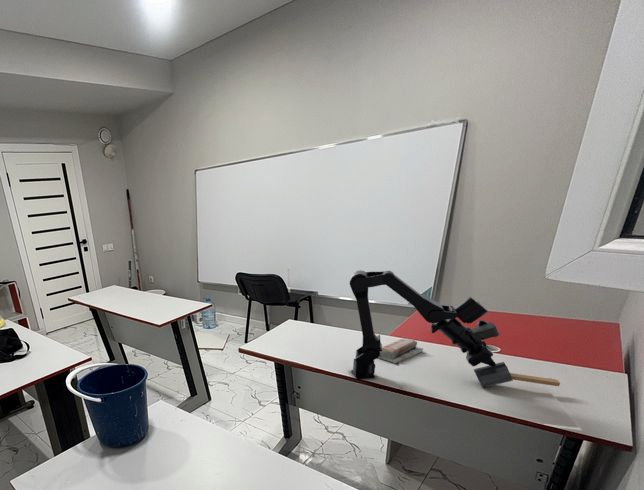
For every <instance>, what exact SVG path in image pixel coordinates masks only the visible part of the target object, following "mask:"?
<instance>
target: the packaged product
mask: <svg viewBox="0 0 644 490" xmlns="http://www.w3.org/2000/svg"><path fill="white" fill-rule="evenodd" d="M423 350H424V347H421V346H418V341H417V340H415V339H411V338H401V339H398V340H396V341H393V342H391V343H388V344H385V345H384V346H383V345H382V352H381V351H380V356H379V357H378V358H379V359H381V360H384V361H388V362H389V363H394V364H397V363H399V362H401V361H403V360H406V359H408V358H410V357H413V356H416V355H417V354H420V353H422V352H423ZM378 358H377V359H378Z"/></svg>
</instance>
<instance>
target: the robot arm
mask: <svg viewBox="0 0 644 490" xmlns="http://www.w3.org/2000/svg"><path fill="white" fill-rule="evenodd" d="M349 286H350V289H351V292H352V294H353V296H354V298H355V300H356V306H357V311H358V315H359V317H358V318H359V322H360V327H361V335H362V345H361V346H360V347H358V348H357V349H356V350H355V358H353V365H352V369H351V370H350V372H351V374H352V375H353V376H354V377H355V379H357V380H360V379H361V380H363V379H375V378H376V376H375V371H376V363H375V360H377V359H378V357H379V356H380V351H381V352H382V347H383V344H382V342H381V334H378V335H377V334H376V333H375V330H374V325H373V318H372V311H371V305H370V299H369V288H374V287H379V286H387V287H388V288H390V289H391V290H392V291H393V292H395V293H396V294H397V295H398V296H400V297H401V298H402V299H404V300H405V301H407V303H409V304H410V305H412V306H413V307H414V308H415V310H416V311H417V312H418V313H419V315H420V316H421V317H422V318H423V319H424V320H425V321H426V322H427V323H429V324H430V332H431V334H435V333H437V332H438V331H440V333H441V334H443V335H444V336H445V337H446V338H447V339H449V341H450V342H451V343H452V345H456V346H457V347H458V348H459V349H460V352H461V353H463V354H465V353H466V356H465V359H466V361H467V363H468V364H469V365H470V366H472V367H476V366H478V365H480V364H484V365H486V366H488V365H490V366H494V365H496V362H495V361H494V359H493V358H492V357H493V356H494V353H493V352H492V350H491V349H490V347H489V346H488V345H487V342H486V341H485V340H487V339H491V338H496V337H499V336H500V332H499V330H498V328H497V326H496V325H495V323H494V322H491V321H489V322H488V321H486V320H485V319H480V318H481V317H483V316H484V315H486V314H487V313H489V312H490V311H489V310H488V309H487V308H486V307H485V306H484V305H482V304H481V303H480V302H479V301H477V300H476V299H474V298H473V297H471V296H469V297H467V298H465V300H464V301H462V302H461V303H459V304H458V305H457V306H453V305H445V304H441V303H440V302H438V301H437V300H434V299H432V298H430V297H427V296H424V294H423V295H422V294H421V293H420V292H418V291H417V290H416V289H414V288H413V287H412V286H410V285H409V284H408V283H407V282H405V281H404V280H402V279H401V278H400V277H398V276H397V275H396V274H395V273H394V272H393V271H391V270H385V271H383V270H382V271H365V270H362V269H361V270H356V271H354V272H353V273H352V274H351V276H350V278H349ZM478 319H480V320H478ZM477 320H478V321H477ZM475 321H477V324H476V325H475V326H474V327H473V328H470V327H469V326H465V324H467V325H468V324H473V323H474V322H475Z"/></svg>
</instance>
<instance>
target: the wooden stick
mask: <svg viewBox="0 0 644 490" xmlns="http://www.w3.org/2000/svg"><path fill="white" fill-rule="evenodd" d="M510 374H511V377H512V379H513V381H514V380H515V381H519V382H525V383H526V382H527V383H533V384H540V385H545V386H546V385H547V386H553V387H560V385H561V382H560V381H559V380H558V379H556V378H549V377H542V376H541V377H540V376H535V375H534V376H533V375H528V374H521V373H513V372H510Z"/></svg>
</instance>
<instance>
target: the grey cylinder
mask: <svg viewBox="0 0 644 490" xmlns="http://www.w3.org/2000/svg"><path fill="white" fill-rule="evenodd" d="M495 363H496V362H495ZM473 372H474V373H475V374H474V375H475V376H476V379H477V382H478V383H479V385H480V387H481V388H486V387H491V386H495V385H501V384H505V383H509V382H513V381H514V380H513V379H512V377H511V374H510V373H511V372H510V370H509V369H508V366H507V365H506V363H505V362H504V361H500V362H497V363H496V365H494V366H490V365H484V366H479V367H476V368H473Z"/></svg>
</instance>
